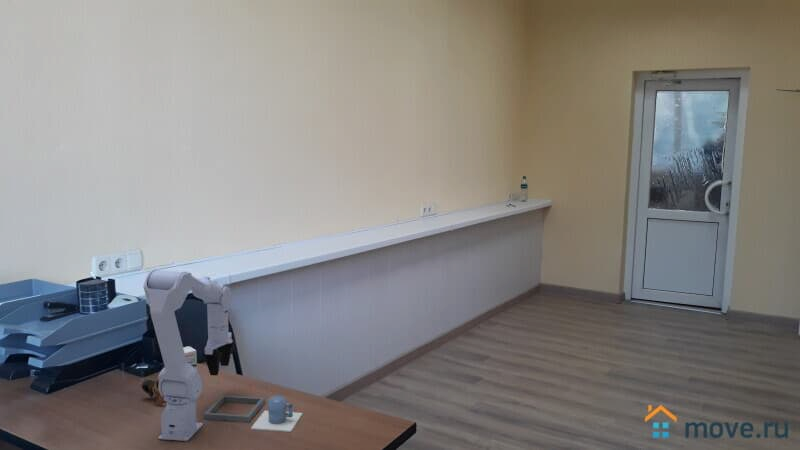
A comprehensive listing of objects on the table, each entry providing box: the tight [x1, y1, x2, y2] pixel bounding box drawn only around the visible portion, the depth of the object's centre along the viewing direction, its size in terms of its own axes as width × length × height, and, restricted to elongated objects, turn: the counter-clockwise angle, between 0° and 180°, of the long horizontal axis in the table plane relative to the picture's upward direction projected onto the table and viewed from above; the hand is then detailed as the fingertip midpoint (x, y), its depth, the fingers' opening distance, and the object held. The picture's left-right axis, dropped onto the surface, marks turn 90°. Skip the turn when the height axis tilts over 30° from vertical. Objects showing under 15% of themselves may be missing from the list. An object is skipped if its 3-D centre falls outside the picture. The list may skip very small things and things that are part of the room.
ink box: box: [183, 345, 198, 370], centre depth 195 cm, size 9×5×12 cm, turn 134°
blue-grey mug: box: [267, 395, 294, 424], centre depth 172 cm, size 7×5×6 cm
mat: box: [250, 410, 303, 433], centre depth 172 cm, size 11×11×1 cm
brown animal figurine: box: [141, 378, 167, 407], centre depth 185 cm, size 12×10×8 cm
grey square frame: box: [203, 394, 266, 423], centre depth 179 cm, size 13×13×2 cm
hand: (219, 370), depth 184 cm, fingers open, 7 cm apart
